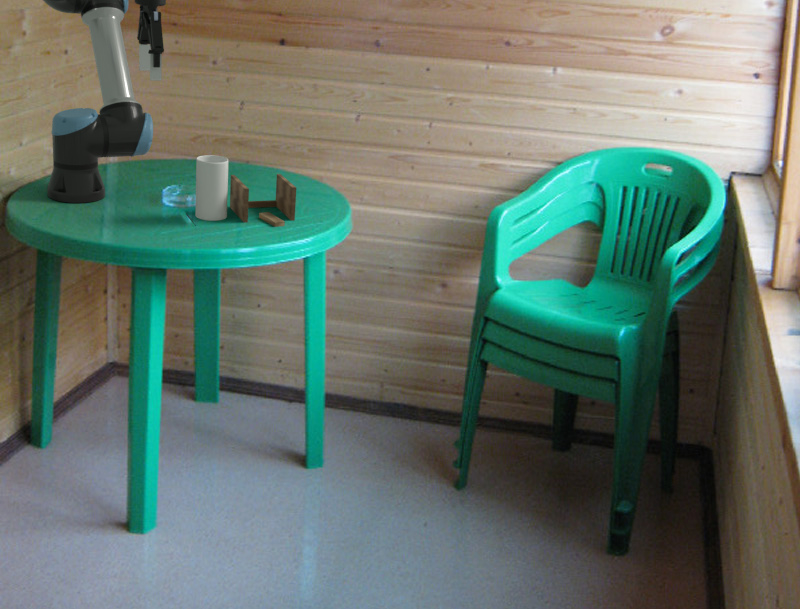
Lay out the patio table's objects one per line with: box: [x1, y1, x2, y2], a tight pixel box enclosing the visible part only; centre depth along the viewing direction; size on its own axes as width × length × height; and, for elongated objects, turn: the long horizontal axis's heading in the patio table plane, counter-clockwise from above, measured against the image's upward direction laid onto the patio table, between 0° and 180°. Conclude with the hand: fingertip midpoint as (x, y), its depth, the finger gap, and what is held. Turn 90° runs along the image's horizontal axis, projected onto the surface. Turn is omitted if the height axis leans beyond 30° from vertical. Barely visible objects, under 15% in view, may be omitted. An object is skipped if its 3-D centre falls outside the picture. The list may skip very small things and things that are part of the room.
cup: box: [195, 154, 229, 222], centre depth 278 cm, size 8×8×16 cm
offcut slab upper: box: [258, 211, 286, 228], centre depth 280 cm, size 3×9×2 cm, turn 37°
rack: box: [229, 173, 297, 224], centre depth 285 cm, size 14×14×10 cm
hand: (150, 75), depth 266 cm, fingers open, 13 cm apart
